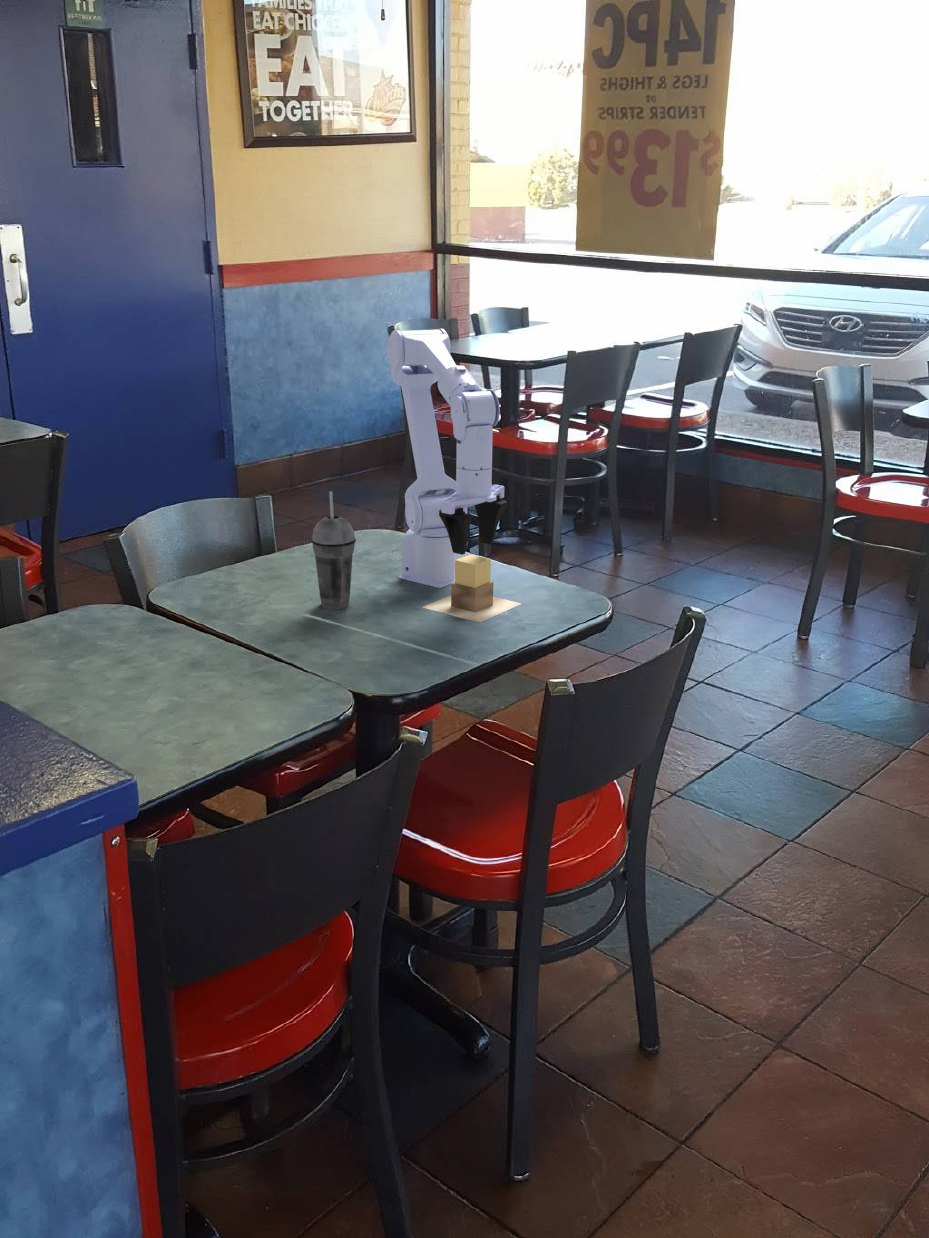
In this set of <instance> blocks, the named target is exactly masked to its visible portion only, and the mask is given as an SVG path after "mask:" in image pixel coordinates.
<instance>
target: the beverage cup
mask: <svg viewBox="0 0 929 1238" xmlns="http://www.w3.org/2000/svg"><path fill="white" fill-rule="evenodd" d="M333 498H334V497H333V491H331V490H330V491H329V509H330V510H329V511H330V512H329V513H330V515H328V516H325V517H323V518H322V519H320V520H319V521H318V522H317V523H316V524H315V526H314V527H313V532H312V537H311V544H312V551H313V554H314V558H315V566H316V573H317V583H318V591H319V597H320V598H319V600H320V604H321V607H322V608H324V609H327V610H342V609H346V608H347V607H349V605H350V600H351V599H350V598H351V584H352V569H353V554H354V553H355V543H356V541H357V539H356V536H355V532H354V529H353V526H352V525H351V524H350V522H349V521H348V520H346V519H345V518H343V517H342V516H339V515H334V499H333Z"/></svg>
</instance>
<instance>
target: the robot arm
mask: <svg viewBox="0 0 929 1238" xmlns="http://www.w3.org/2000/svg"><path fill="white" fill-rule="evenodd" d="M451 345H452V344H451V339H450V336H449V335H448V333H447V331H446V330H445V329H444V328H437V329H414V330H413V329H411V330H398V329H395V330H393V331H392V332H391V334H390V335H389V337H388V340H387V349H386V351H387V359H388V364H389V371H390V376H391V379H392V382H393V383H395V384H396V385H398V386H400V388H401V391H402V392H401V393H402V397H403V402H404V408H405V413H406V419H407V425H408V431H409V438H410V443H411V448H412V454H413V460H414V467H415V471H416V472H415V473H416V478H417V479H416V480H415V481H413V483H412V484H411V485H410V486H409V487H407V489H406V490H405V494H404V503H405V508H404V515H405V521H406V523H407V527H408V528H409V529H408V530H407V531H406V532H405V533H404V535H403V537H402V541H401V542H402V543H401V574H400V575H399V576H398V578H399V579H402V580H406V581H410V582H414V583H418V584H422V585H426V586H431V587H434V588H441V589H442V588H444V587H447V586H449V585H451V583H453V582H455V560H457V554H458V555H465V554H466V551H467V547H468V546H467V545H468V534H469V531H470V530H469V529H470V526H471V523H472V521H473V518H474V515H473V514H470V513H468V508H471V507H473V506H474V507H475V511H476V515H477V521H478V533H479V536H478V538H479V540H480V543H483V544H487V545H492V544H493V543H494V539H495V536H496V532H497V529H498V525H499V523H500V520H501V518H502V515H503V513H504V512H505V511H506V508H507V507H508V501H507V500H504V499H503V498H504V497H505V486H504V485H499V484H493V483H492V478H493V477H492V475H493V474H492V471H493V438H494V437H493V435H494V432H493V429H494V428H493V427H496V425H498V422H499V420H500V414H501V413H500V411H501V408H500V401H499V398H498V396H497V393H496V392H495V390H494V389H491V388H489V389H487V388H482V387H481V386H480V384H479V383H478V382H477V380H475V378H474V377H473V375H472V374H471V372H470V371H469V370H468V368H466V367H465V366H464V365H457V364H456V361H454V359H453V357H452V355H451V349H452V346H451ZM436 382H437V388H438V391H439V392H440V395H442V397H443V399H444V400H445V401H446V402H447V404H448V405H449V407H450V418H451V421H452V426H453V427H452V428H453V430H452V431H453V438H454V439H456V464H455V465H456V468H455V469H456V471H455V473H456V475H455V478H456V479H455V480H454V479H453V478H452V477H450V476H448V475H447V474H446V472H445V466H444V462H443V455H442V449H441V444H440V443H441V442H440V438H439V434H438V433H439V432H438V427H437V421H436V417H435V415H436V414H435V409H434V403H433V397H432V394H431V387H432V385H433V384H435V383H436Z"/></svg>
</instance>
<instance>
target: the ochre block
mask: <svg viewBox="0 0 929 1238" xmlns="http://www.w3.org/2000/svg"><path fill="white" fill-rule="evenodd" d="M491 560H492V559H491V558H487V557H483V556H479V555H475V554H468V555H465V556H462V557H459V558H456V560H455V583H456V584H460V585H464V586H468V587H472V588H477V587H480V586H482V585H485V584H487V583H489V582H490V581H491V570H492V568H491V566H492V561H491Z"/></svg>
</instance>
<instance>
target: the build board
mask: <svg viewBox="0 0 929 1238" xmlns="http://www.w3.org/2000/svg"><path fill="white" fill-rule="evenodd" d="M520 605H522V603H520V602H517V601H513V600H508V599H504V598H501V597H497V596H493V605H491V606H489V607H487V608H484V609H482V610H480V611H477V612H472V611H468V610H464V609H460V608H456V607H452V606H451V594H450V595H448V596H446V597H443V598H441V599H438V600H436V601H434V602H431V603H428V604H426V605H424V606H422V607H421V608H423V609H427V610H430V611H432V612H433V611H434V612H438V613H441V614H445V615H448V616H452V617H455V618H456V617H457V618H459V619H464V620H467V621H472V622H476V623H479V624H480V623H483V622H486V621H487V620H490V619H491V618H492V619H493V618H494V617H496V616H499V615H500V614H503V613H505V612H508V611H509V610H512V609H514V608H517V607H519V606H520Z"/></svg>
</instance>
